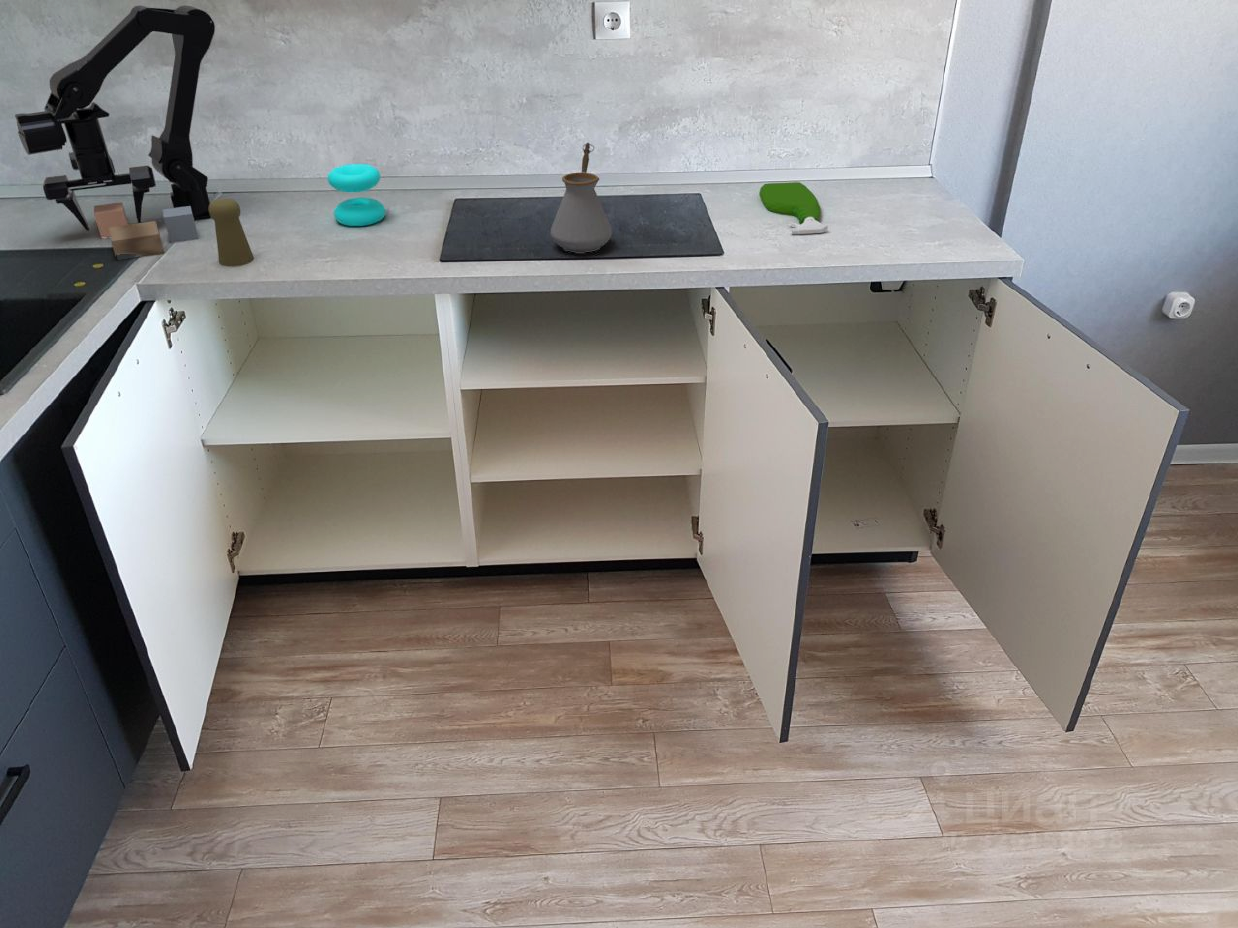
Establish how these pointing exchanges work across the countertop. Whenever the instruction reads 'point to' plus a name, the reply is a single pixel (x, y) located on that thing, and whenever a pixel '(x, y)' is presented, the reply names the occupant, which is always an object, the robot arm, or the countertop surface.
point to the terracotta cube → (109, 217)
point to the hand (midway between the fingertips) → (114, 226)
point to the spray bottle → (794, 205)
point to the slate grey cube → (180, 224)
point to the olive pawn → (230, 233)
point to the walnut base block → (136, 239)
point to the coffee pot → (581, 213)
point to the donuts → (356, 181)
